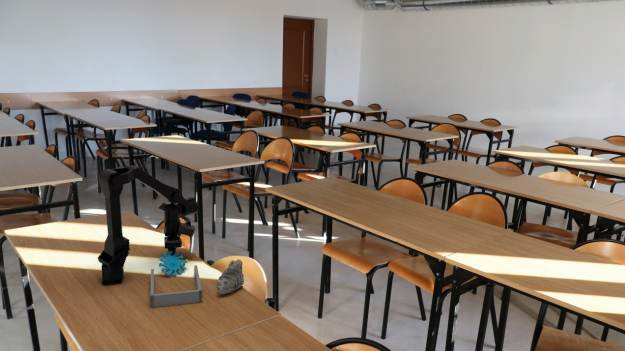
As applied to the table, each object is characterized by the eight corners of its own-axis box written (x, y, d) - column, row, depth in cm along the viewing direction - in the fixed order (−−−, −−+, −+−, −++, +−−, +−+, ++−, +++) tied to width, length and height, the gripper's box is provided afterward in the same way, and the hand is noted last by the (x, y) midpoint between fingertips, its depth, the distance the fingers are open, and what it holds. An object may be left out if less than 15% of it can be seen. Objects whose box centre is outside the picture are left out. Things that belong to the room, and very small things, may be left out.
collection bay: (150, 307, 148) (150, 296, 147) (151, 279, 166) (150, 269, 165) (202, 301, 153) (202, 290, 152) (197, 275, 171) (196, 265, 170)
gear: (162, 276, 165) (157, 250, 170) (156, 282, 169) (152, 257, 174) (191, 273, 172) (186, 248, 176) (185, 279, 176) (181, 255, 180)
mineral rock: (219, 299, 155) (219, 271, 153) (205, 286, 163) (205, 260, 161) (252, 289, 163) (253, 263, 160) (238, 277, 171) (238, 252, 169)
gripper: (195, 225, 172) (195, 264, 176) (191, 210, 189) (192, 245, 193) (164, 227, 169) (165, 267, 172) (163, 211, 186) (164, 247, 190)
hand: (172, 256), depth 182 cm, fingers closed
